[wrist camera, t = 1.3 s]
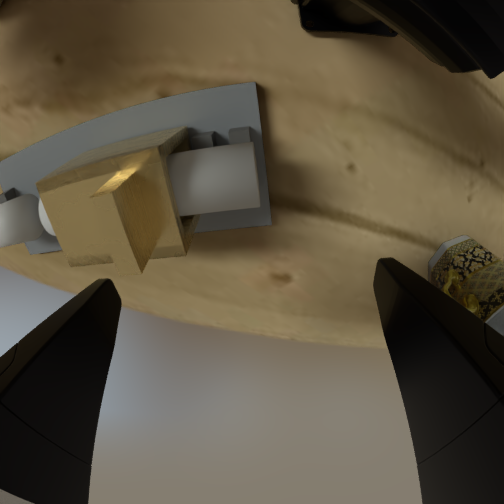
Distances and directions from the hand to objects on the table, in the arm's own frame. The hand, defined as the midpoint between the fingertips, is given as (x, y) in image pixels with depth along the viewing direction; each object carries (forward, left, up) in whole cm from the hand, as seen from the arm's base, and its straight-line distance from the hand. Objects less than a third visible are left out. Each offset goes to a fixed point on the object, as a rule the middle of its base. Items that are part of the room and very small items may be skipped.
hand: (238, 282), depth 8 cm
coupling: (+8, 0, -12) cm, 14 cm away
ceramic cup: (-17, +11, -13) cm, 24 cm away
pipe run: (+11, 0, -13) cm, 17 cm away
